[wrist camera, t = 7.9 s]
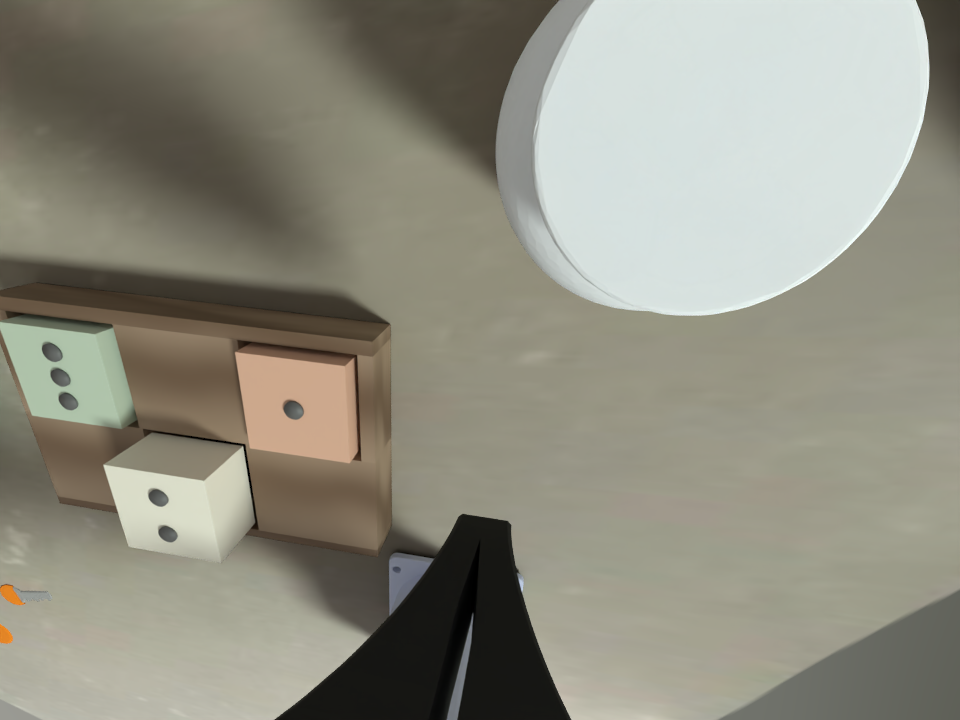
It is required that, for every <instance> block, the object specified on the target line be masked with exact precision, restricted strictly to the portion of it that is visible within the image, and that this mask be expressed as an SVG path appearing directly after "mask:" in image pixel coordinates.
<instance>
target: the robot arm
mask: <svg viewBox="0 0 960 720" xmlns="http://www.w3.org/2000/svg"><path fill="white" fill-rule="evenodd" d="M398 567H399V568H398ZM523 581H524V580H523V577H522V575H520V574H519V573H517V570H516V566H515V560H514V555H513V548H512V540H511V524H510V523H509V522H508V521H504V520H498V519H491V518H485V517H479V516H472V515H466V514H462V515H460V516H459V517H458V519H457V521H456V523H455V525H454V527H453V529H452V531H451V533H450V535H449V536H448V538H447V540H446V541H445V543H444V545H443V546H442V548H441V549H440V551H439V553H438V554H437V555H436V557H435V558H434V559H433V558H427V557H421V556H415V555H409V554H403V553H393V554H392V555H391V557H390V560H389V617H388V618H387V620H386V621H385V622H384V623H383V624H382V625H381V626H380V627H379V628H378V629H377V630H376V631H375V632H374V633H373V634H372V635H371V636H370V637H369V638H368V639H367V640H366V641H365V642H364V643H363V644H362V645H361V646H360V647H359V648H358V649H357V650H356V651H355V652H354V653H353V654H352V655H351V656H350V657H349V658H348V659H347V660H346V661H345V662H344V663H343V664H342V665H341V666H340V667H338V668H337V669H336V670H335V671H334V672H333V673H331V674H330V675H329V676H328V677H327V678H326V679H324V680H323V681H322V682H321V683H320V684H319V685H317V686H316V687H315V688H314V689H313V690H312V691H311V692H309V693H308V694H307V695H306V696H305V697H303V698H302V699H301V700H300V701H298V702H297V703H296V704H295V705H293V706H292V707H291V708H289V709H288V710H287V711H285V712H284V713H283V714H281V715H280V716H279V717H277V718H276V719H275V720H571V718H570V716H569V714H568V712H567V710H566V708H565V706H564V704H563V702H562V700H561V698H560V696H559V693H558V691H557V689H556V687H555V684H554V682H553V680H552V677H551V675H550V673H549V670H548V668H547V665H546V663H545V660H544V658H543V655H542V653H541V650H540V647H539V645H538V642H537V639H536V636H535V633H534V631H533V628H532V625H531V621H530V618H529V615H528V612H527V609H526V605H525V602H524V598H523V595H522V590H523Z"/></svg>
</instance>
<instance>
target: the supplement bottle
mask: <svg viewBox="0 0 960 720" xmlns="http://www.w3.org/2000/svg"><path fill="white" fill-rule="evenodd" d="M928 90H929V54H928V41H927V36H926V31H925V26H924V21H923V18H922V15H921V12H920V10H919V7H918V5H917V2H916V0H559V1H558V2H557V3H556V5H555V6H554V7H553V8H552V9H551V10H550V12H549V13H548V14H547V16H546V17H545V18H544V20H543V21H542V23H541V24H540V25H539V27H538V28H537V30H536V31H535V32H534V34H533V35H532V37H531V38H530V40H529V41H528V43H527V45H526V47H525V48H524V50H523V52H522V54H521V56H520V58H519V60H518V62H517V64H516V65H515V67H514V70H513V72H512V75H511V78H510V80H509V83H508V86H507V89H506V91H505V95H504V99H503V103H502V106H501V110H500V115H499V121H498V128H497V135H496V172H497V180H498V186H499V190H500V195H501V199H502V203H503V206H504V209H505V212H506V215H507V218H508V220H509V222H510V224H511V227H512V229H513V230H514V232H515V234H516V236H517V238H518V239H519V241H520V243H521V245H522V246H523V247H524V249H525V250H526V252H527V253H528V255H529V256H530V257H531V258H532V260H533V261H534V262H535V263H536V264H537V265H538V266H539V267H540V268H541V269H542V270H543V271H544V272H545V273H546V274H547V275H548V276H549V277H551V278H552V279H553V280H554V281H556V282H557V283H558V284H559V285H561V286H563V287H564V288H566V289H567V290H569V291H571V292H572V293H574V294H576V295H578V296H581V297H583V298H585V299H587V300H590V301H592V302H595V303H598V304H602V305H606V306H609V307H613V308H619V309H626V310H638V311H651V312H656V313H660V314H668V315H710V314H718V313H723V312H727V311H734V310H737V309H741V308H745V307H748V306H751V305H754V304H757V303H760V302H762V301H765V300H768V299H770V298H772V297H775V296H777V295H779V294H781V293H783V292H785V291H787V290H789V289H791V288H793V287H795V286H796V285H798V284H800V283H802V282H804V281H806V280H807V279H809V278H810V277H812V276H813V275H815V274H816V273H818V272H819V271H820V270H821V269H823V268H824V267H825V266H827V265H828V264H829V263H830V262H832V261H833V260H834V259H835V258H836V257H838V256H839V255H840V254H841V253H842V252H843V251H844V250H846V249H847V248H848V247H849V246H850V245H851V244H852V243H853V242H854V241H855V240H856V239H857V238H858V237H859V235H860V234H861V233H862V232H863V231H864V230H865V229H866V228H867V227H868V226H869V224H870V223H871V222H872V221H873V219H874V218H875V217H876V216H877V214H878V213H879V212H880V210H881V209H882V207H883V206H884V204H885V203H886V201H887V200H888V198H889V197H890V195H891V194H892V192H893V191H894V189H895V188H896V186H897V184H898V182H899V180H900V178H901V176H902V174H903V172H904V170H905V168H906V166H907V164H908V162H909V160H910V158H911V155H912V152H913V149H914V147H915V144H916V141H917V138H918V135H919V132H920V129H921V125H922V122H923V118H924V112H925V106H926V100H927V95H928Z"/></svg>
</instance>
